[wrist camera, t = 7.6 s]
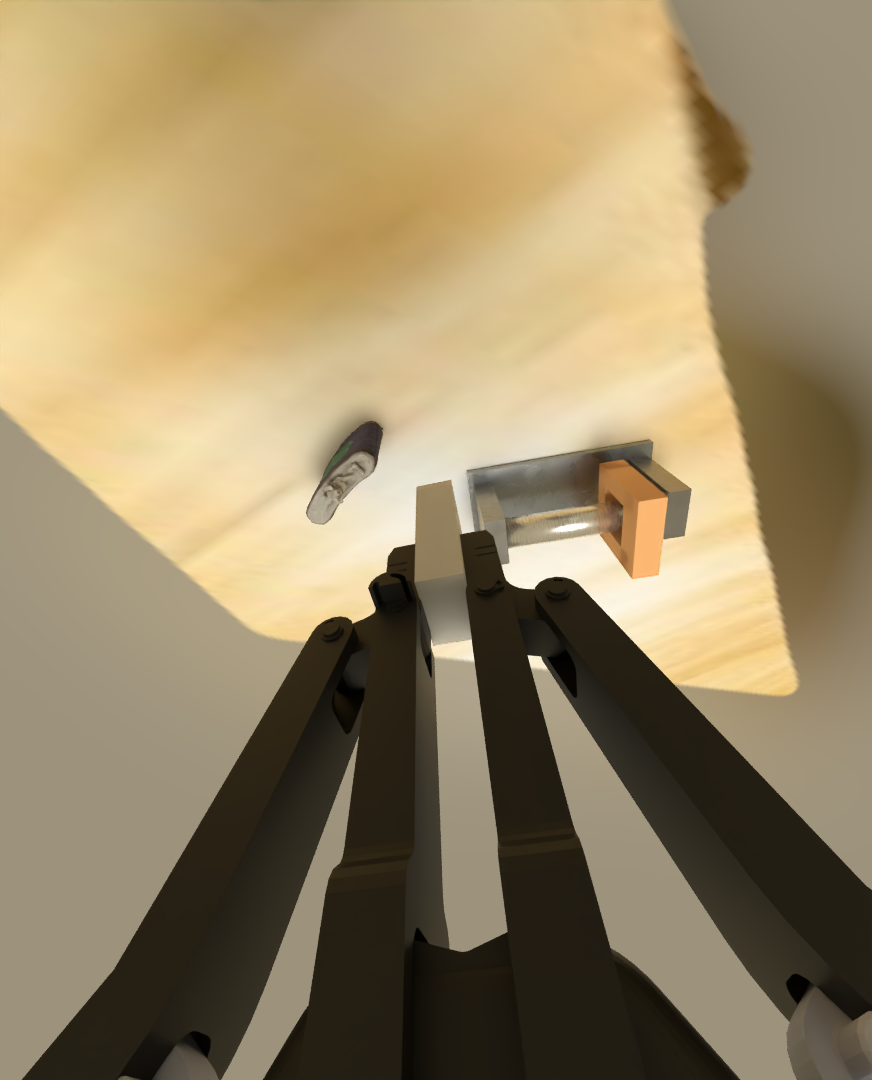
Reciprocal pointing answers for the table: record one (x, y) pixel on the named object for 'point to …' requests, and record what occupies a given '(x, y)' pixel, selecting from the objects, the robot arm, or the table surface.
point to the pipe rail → (565, 497)
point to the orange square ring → (634, 518)
